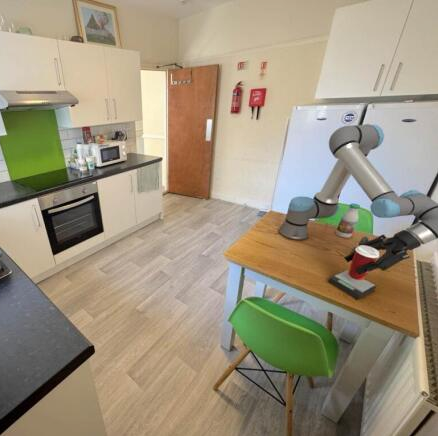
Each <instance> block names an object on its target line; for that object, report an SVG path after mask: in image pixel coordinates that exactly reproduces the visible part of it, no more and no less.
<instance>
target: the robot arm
mask: <svg viewBox="0 0 438 436" xmlns="http://www.w3.org/2000/svg"><path fill="white" fill-rule="evenodd" d="M384 139H385V133H384V129H382V127H380V126H379V125H378V124H370V123H366V124H356V125H355V124H354V125H352V124H351V125H344V126H340V127H339V128H337V129H336V130H334V131H333V133H332V134H331V135H330V136H329V140H328V148H329V151H330V152H331V154H332V155H333V157H334V158H335V159H337V161H336V162H335V164H334V166H333V168H332V169H331V171H330V174H329V175H328V177H327V179H326V181H325V182H324V184H323V186H322V188H321V190H320V191H319V192H316V193H315V195H314V196H313V198H312V197H309V196H301V195H299V196H296V197H293V198H292V199H291V200H290V202H289V204H288V208H287V212H286V217H285V220H284V221H283V223H282V224H281V225H280V227H279V229H278V233H279V234H280V235H281V236H282V237H284V238H286V239H288V240H292V241H305V240H307V239H308V236H309V232H308V223H309V221H310V220H315V219H325V218H326V219H327V218H330V217H334V216H335V215H336V214H337V213H338V212H339V210H340V206H339V205H340V202H339V201H340V199H339V196H340V194H341V192H342V190H343V189H344V188H345V185H346V184H347V183H348V181H349V179H350V178H351V176H352V178H353V179H354V180H355V181H356V183H357V184H358V185H359V187H360V188H361V189H362V191H363V192H364V193H365V195H366V196H367V198H368V199H369V200H370V201H371V203H370V206H369V208H370V213H371V214H372V215H373V216H374V217H376V218H379V219H380V218H381V219H386V218H387V219H392V218H396V217H407V216H414V217H415V218H417V219H418V220H419V221H418V222H417V223H414V224H411V225H410V226H408V227H406V228H405V229H402V230H400V231H398V232H396V233H394V234H393V236H391V237H387V236H386V235H385V234H380V235H379V236H378V237H376V238H373V239H369V241H368V242H365V243H362V244H360V245H365V246H370V247H373V248H375V249H376V250H378V251H385V252H384V253H383V254H382V255H381V256H379V257H378V258H377V259H376V261H375V262H373V263H372V262H371V263H368V264H366V265H364V266H362V267H360V268H357V269H355V271H356V272H357V273H358V274H359V275H360V274H362V273H365V272H367V271H368V273H369V272H372V271H375V270H377V269H380V270H381V271H386V270H388V269H390V268H392V267H393V266H395V265H397V264H399V263H400V262H401V261H403V260H407V259H410V258H411V256H410V255H409V253H408V252H407V251H413V250H416V248H420V247H421V246H422V245H426V244H428V243H430V242H433V241H435V240H437V239H438V202H436V201H435V200H433V199H432V198H431V197H430V196H427V194H425V193H423V192H421V191H419V190H417V189H410V190H408V191H405V192H403V193H402V194H400V195H398V194H397V192H395V190H394V189H393V188H392V187H391V185H389V183H388V182H387V181H386V179H385V178H384V177H383V176H382V175H381V174H380V172H379V171H378V170H377V169H376V168H375V166H374V165H373V164H372V162H371V161H370V160H369V159H368V158H367V157H368V155H369V154H370V152H371V151H373V150H375V149H378V148H379V147H380V146H381V145H382V144H383V142H384ZM360 245H359V244H358V245H357V247H358V246H360ZM354 254H355V251H354V250H353V251H352V252H351V253H350V254H348V255H346V256H344V257H343V259H344V260H345V261H346V262H347V263H350V262H352V260H353V257H354Z"/></svg>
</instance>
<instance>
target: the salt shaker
mask: <svg viewBox="0 0 438 436" xmlns="http://www.w3.org/2000/svg"><path fill="white" fill-rule="evenodd" d="M368 241H370V239H369V237H368V236H367V235H366V236H362V237H361V239H360V241H359V242H358V245H360V244H362V243H365V242H368ZM357 247H358V246H353V252H354V251H356V250H355V249H356V248H357Z"/></svg>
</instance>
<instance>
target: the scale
mask: <svg viewBox="0 0 438 436" xmlns="http://www.w3.org/2000/svg"><path fill="white" fill-rule="evenodd" d="M348 271H349V269H345V270H343V271H341V272H339V273H337V274H335V275H333V276H331V277H329V279H328V281H327V282H328V283H329V284H331V285H332V286H334V287H336V288H337V289H339V290H341V291H342V292H344V293H345V294H347V295H349V296H350V297H352V298H354V299H355V300H359V299H361V298H363V297H366V296H367V295H368V294H370V293H372V292H374V291H375V289H376V288H377V286H376V285H375V284H374V283H372V282H370V281H369V280H366V279H365V278H364V279H363V280H356V279H353V278H351V277H350V276H349V275H348Z"/></svg>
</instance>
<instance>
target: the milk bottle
mask: <svg viewBox="0 0 438 436" xmlns="http://www.w3.org/2000/svg"><path fill="white" fill-rule="evenodd" d="M360 208H361V205H360V204H358V203H350V204H349V206H348V209H347V211H345V212H344V213H343V214H342V215H341V217H340V221H339V222H338V225H337V228H336V231H335V234H336V235H337V236H339V237H341V238H345V239H346V238H347V239H349V238H351V237H352V235H353V233H354V231H355V229H356V227H357V225H358V221H359V210H360Z"/></svg>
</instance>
